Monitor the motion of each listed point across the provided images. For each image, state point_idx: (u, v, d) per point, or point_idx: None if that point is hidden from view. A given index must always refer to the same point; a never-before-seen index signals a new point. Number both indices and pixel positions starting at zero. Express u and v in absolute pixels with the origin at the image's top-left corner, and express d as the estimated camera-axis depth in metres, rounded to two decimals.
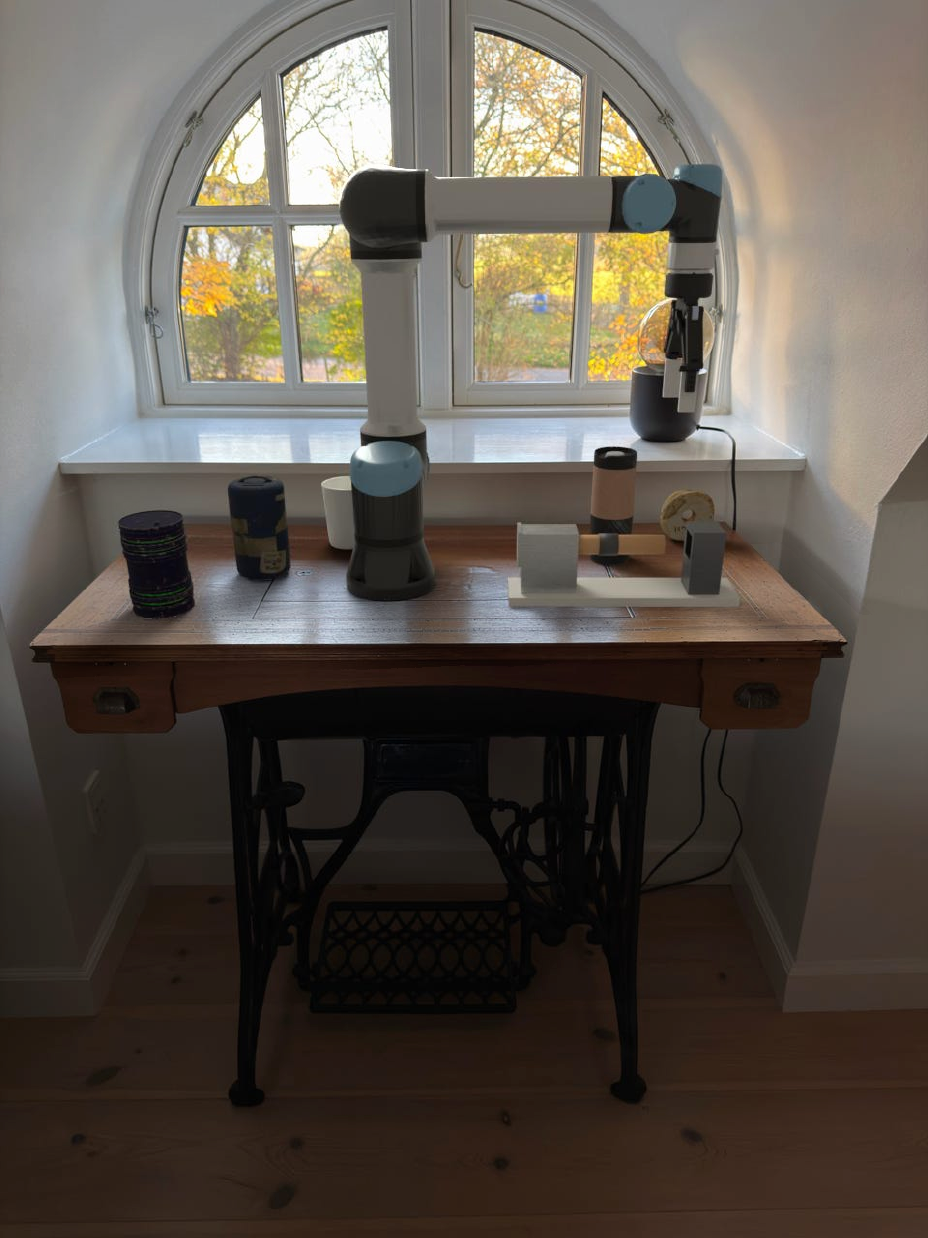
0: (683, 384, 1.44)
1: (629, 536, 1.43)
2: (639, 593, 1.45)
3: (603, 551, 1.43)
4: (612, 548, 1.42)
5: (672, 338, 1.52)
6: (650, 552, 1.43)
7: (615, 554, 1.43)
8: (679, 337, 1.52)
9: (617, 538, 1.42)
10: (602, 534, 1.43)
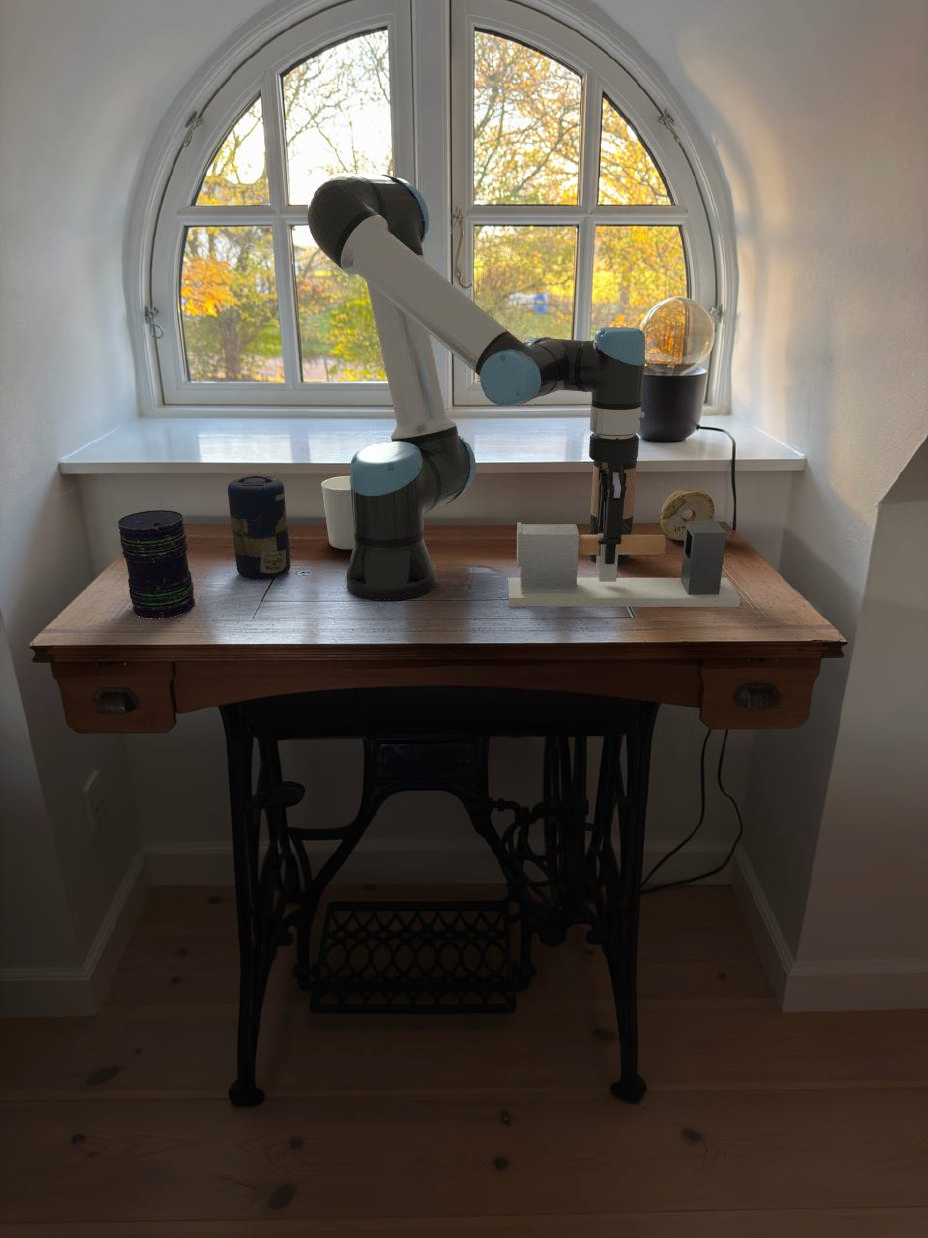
0: (603, 555, 1.42)
1: (629, 536, 1.43)
2: (639, 593, 1.45)
3: None
4: None
5: (602, 504, 1.43)
6: (650, 552, 1.43)
7: None
8: None
9: None
10: (602, 534, 1.43)
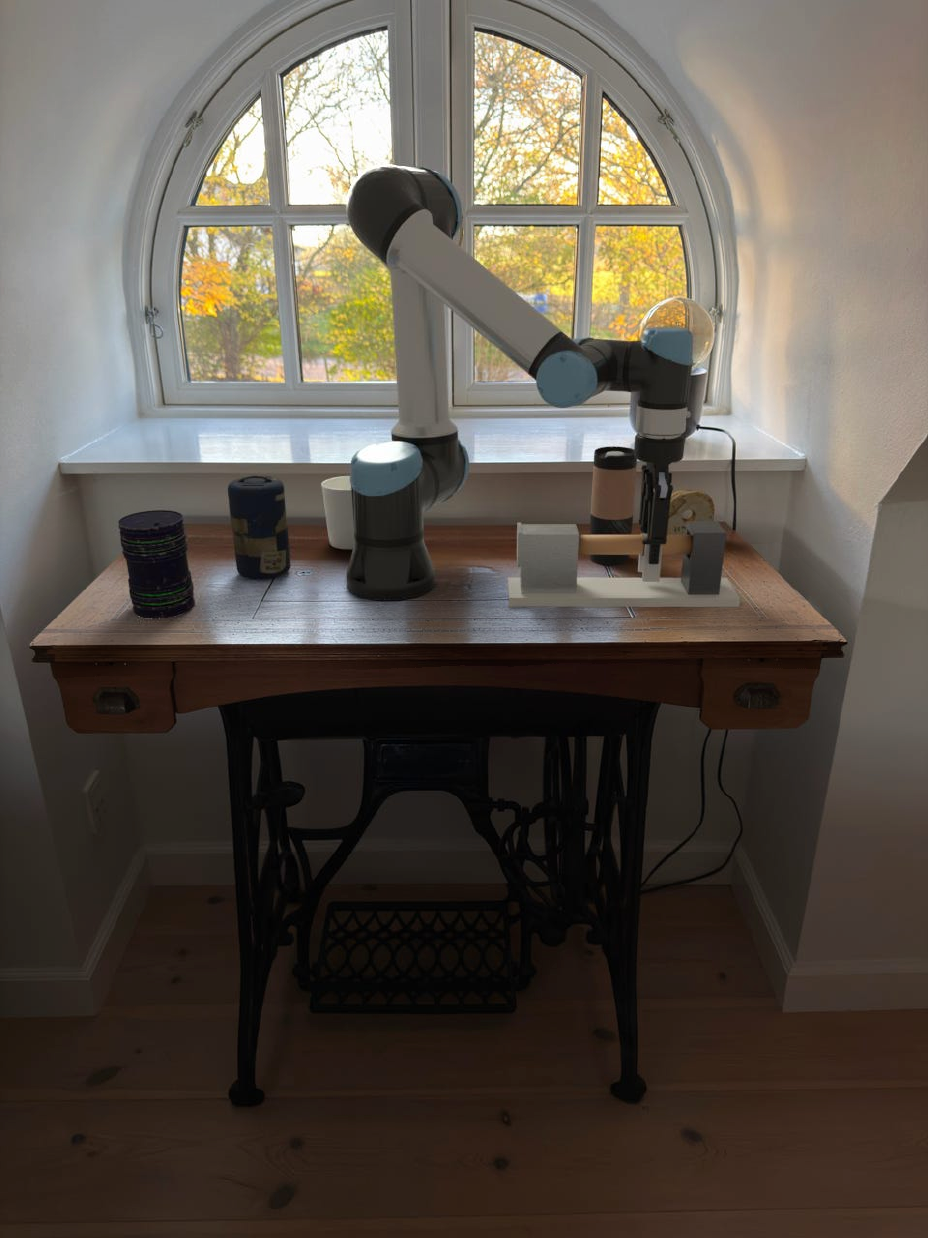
0: (647, 555, 1.42)
1: (673, 536, 1.42)
2: (639, 593, 1.45)
3: None
4: None
5: (645, 504, 1.43)
6: None
7: None
8: None
9: None
10: (645, 534, 1.43)
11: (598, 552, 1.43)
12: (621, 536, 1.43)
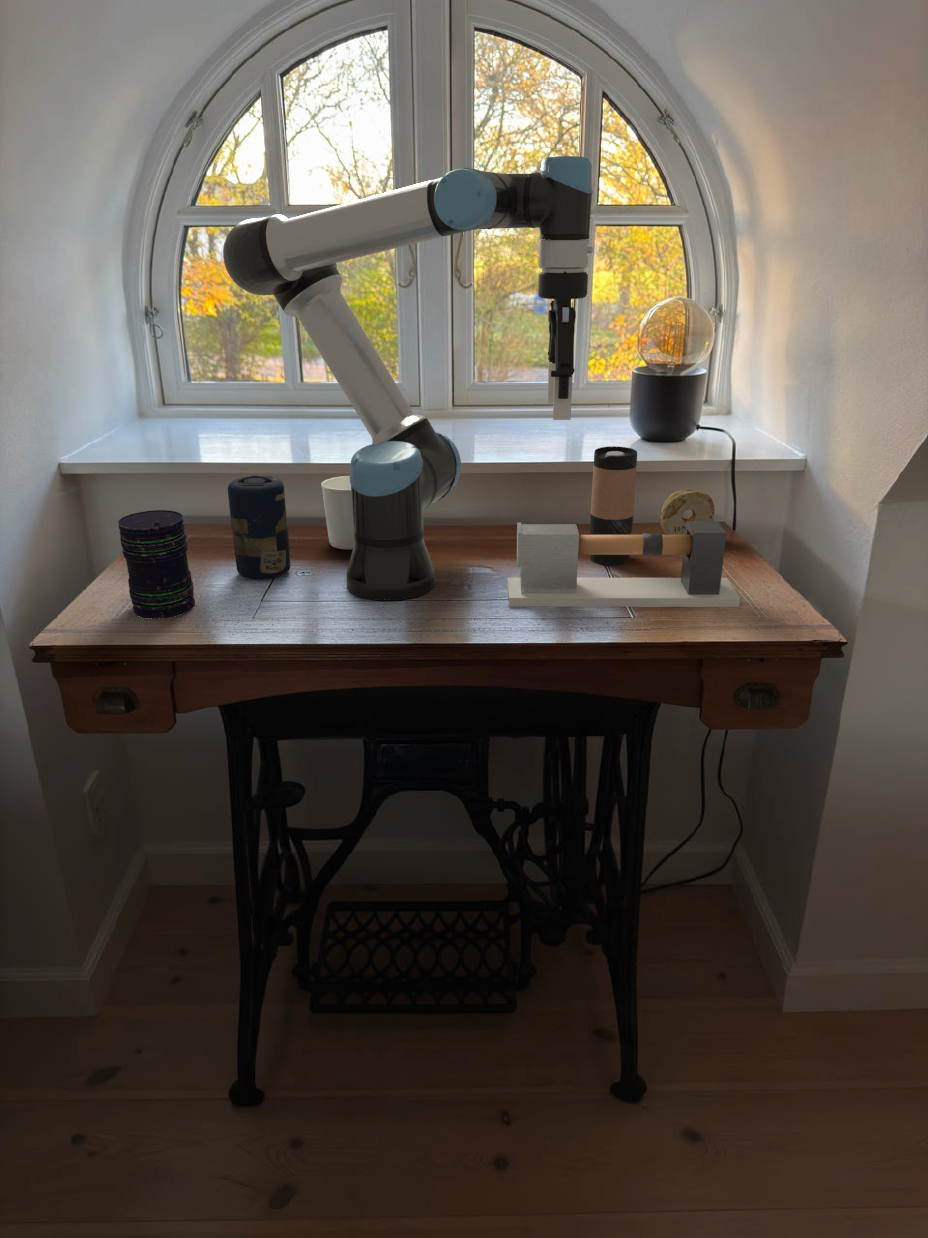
0: (556, 390, 1.36)
1: (673, 536, 1.42)
2: (639, 593, 1.45)
3: (647, 551, 1.42)
4: (656, 549, 1.42)
5: (552, 341, 1.44)
6: None
7: (659, 554, 1.43)
8: None
9: (661, 538, 1.42)
10: (646, 534, 1.43)
11: (598, 552, 1.43)
12: (621, 536, 1.43)
